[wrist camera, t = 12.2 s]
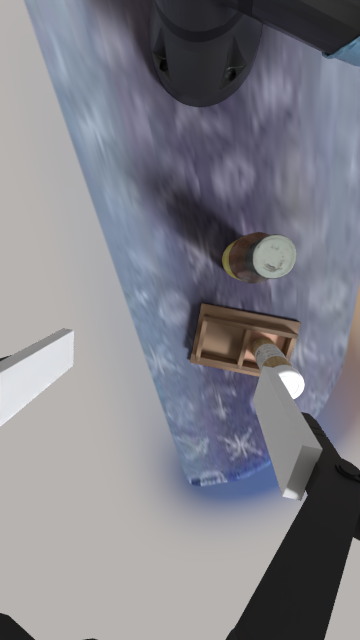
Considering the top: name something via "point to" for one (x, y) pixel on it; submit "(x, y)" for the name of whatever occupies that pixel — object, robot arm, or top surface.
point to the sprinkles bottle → (277, 364)
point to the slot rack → (238, 338)
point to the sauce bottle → (259, 257)
